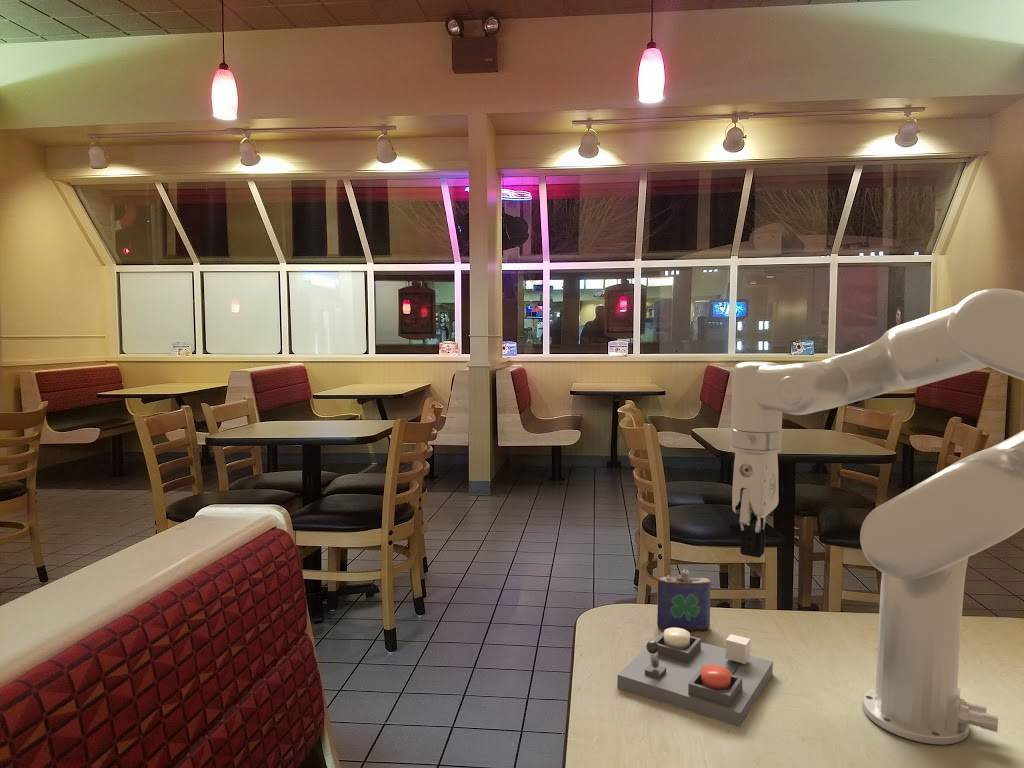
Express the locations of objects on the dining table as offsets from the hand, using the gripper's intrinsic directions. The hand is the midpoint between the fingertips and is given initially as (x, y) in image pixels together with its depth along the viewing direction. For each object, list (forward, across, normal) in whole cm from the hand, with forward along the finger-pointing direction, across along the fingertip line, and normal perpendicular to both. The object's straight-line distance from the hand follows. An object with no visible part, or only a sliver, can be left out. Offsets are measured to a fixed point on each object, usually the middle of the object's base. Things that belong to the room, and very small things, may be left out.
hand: (752, 553), depth 110 cm
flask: (+17, +4, +12) cm, 22 cm away
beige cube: (+15, -7, 0) cm, 16 cm away
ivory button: (+14, -9, +9) cm, 19 cm away
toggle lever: (+14, -17, +9) cm, 24 cm away
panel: (+17, -12, +4) cm, 21 cm away
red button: (+14, -17, 0) cm, 22 cm away
